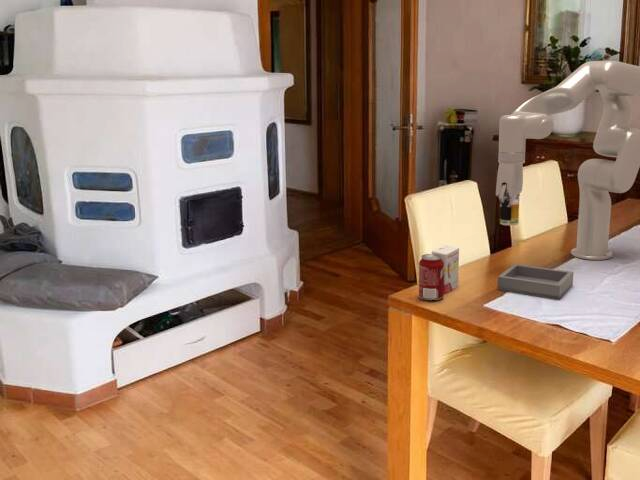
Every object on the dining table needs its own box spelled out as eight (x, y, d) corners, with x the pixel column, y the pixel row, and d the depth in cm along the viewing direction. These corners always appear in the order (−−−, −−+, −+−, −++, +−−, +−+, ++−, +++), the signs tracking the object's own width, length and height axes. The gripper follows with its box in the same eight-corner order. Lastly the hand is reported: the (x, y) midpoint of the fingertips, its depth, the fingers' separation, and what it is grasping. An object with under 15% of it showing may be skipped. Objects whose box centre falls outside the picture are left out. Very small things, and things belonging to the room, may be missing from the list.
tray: (513, 276, 198) (514, 263, 197) (572, 285, 188) (573, 272, 187) (497, 290, 187) (498, 276, 186) (559, 300, 177) (560, 285, 176)
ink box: (445, 294, 185) (446, 254, 182) (429, 291, 188) (430, 251, 185) (459, 286, 191) (460, 246, 188) (443, 283, 194) (444, 244, 191)
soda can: (438, 303, 178) (438, 261, 175) (415, 299, 181) (415, 258, 178) (447, 296, 183) (448, 254, 180) (424, 292, 187) (425, 251, 184)
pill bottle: (519, 222, 200) (520, 190, 197) (517, 226, 195) (518, 193, 193) (500, 221, 202) (501, 190, 199) (498, 225, 197) (499, 193, 194)
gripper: (509, 153, 202) (507, 211, 207) (488, 160, 189) (486, 222, 193) (534, 154, 198) (531, 213, 202) (513, 162, 184) (511, 225, 189)
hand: (509, 217), depth 198 cm, fingers closed on pill bottle, 5 cm apart
